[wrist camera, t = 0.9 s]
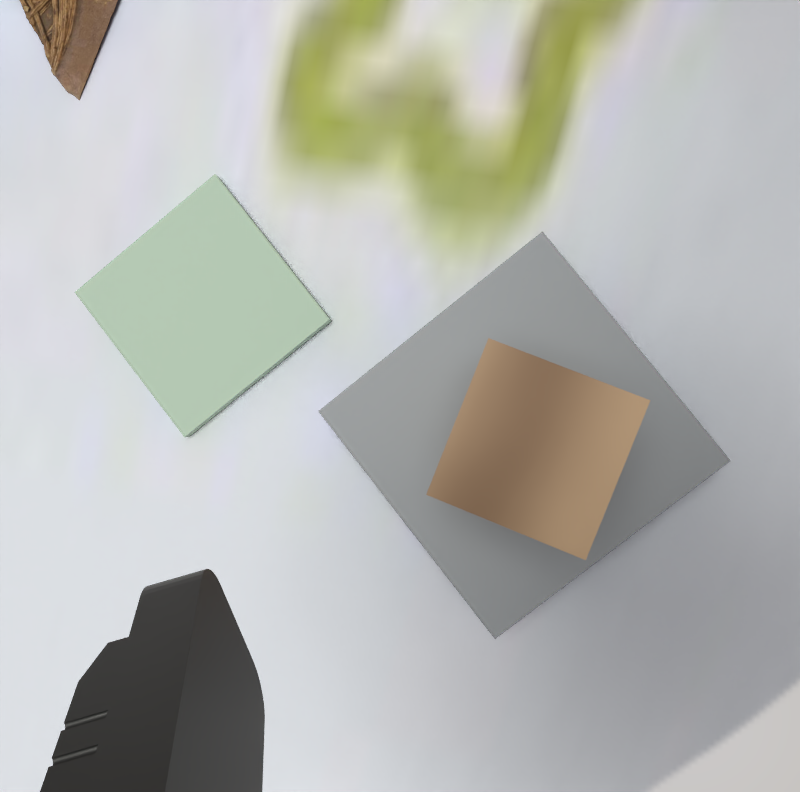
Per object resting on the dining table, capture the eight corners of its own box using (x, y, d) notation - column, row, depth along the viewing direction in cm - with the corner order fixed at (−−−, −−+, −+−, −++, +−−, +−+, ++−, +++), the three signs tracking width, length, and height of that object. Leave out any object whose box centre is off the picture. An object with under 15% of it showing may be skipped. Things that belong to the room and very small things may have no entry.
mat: (219, 177, 36) (214, 174, 36) (331, 320, 36) (329, 319, 35) (81, 294, 37) (74, 292, 36) (189, 436, 36) (184, 437, 36)
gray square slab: (534, 251, 35) (542, 231, 31) (700, 454, 34) (730, 460, 30) (335, 410, 36) (318, 411, 32) (492, 612, 35) (495, 639, 31)
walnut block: (599, 401, 30) (650, 400, 21) (553, 514, 31) (585, 560, 22) (484, 357, 31) (488, 337, 22) (440, 468, 31) (425, 494, 22)
